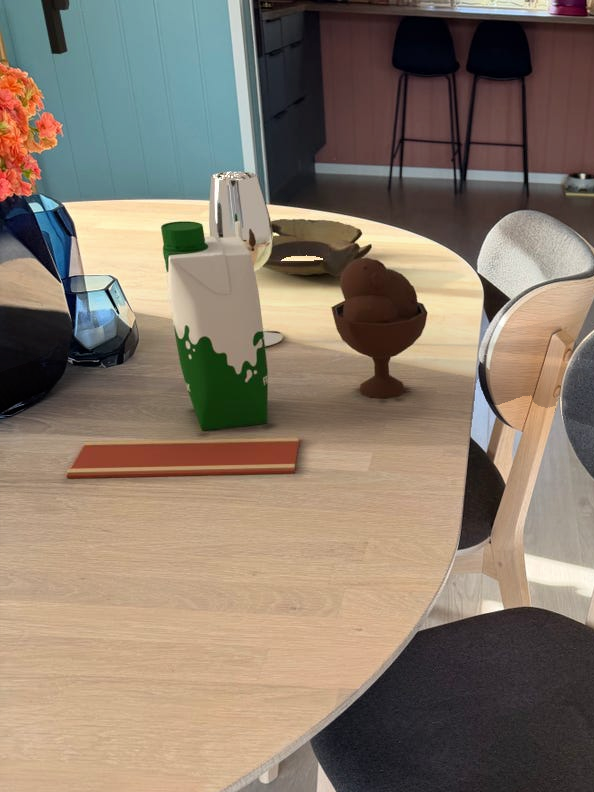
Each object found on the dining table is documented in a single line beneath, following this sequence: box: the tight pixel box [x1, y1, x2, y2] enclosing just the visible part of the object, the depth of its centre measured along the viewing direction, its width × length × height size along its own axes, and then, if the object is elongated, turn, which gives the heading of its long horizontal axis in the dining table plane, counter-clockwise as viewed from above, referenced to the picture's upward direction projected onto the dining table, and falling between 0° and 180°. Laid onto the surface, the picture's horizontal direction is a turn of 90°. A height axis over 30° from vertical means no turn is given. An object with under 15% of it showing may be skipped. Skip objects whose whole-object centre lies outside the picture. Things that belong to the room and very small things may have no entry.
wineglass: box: [208, 171, 284, 348], centre depth 119 cm, size 8×8×20 cm
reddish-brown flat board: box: [66, 437, 300, 479], centre depth 95 cm, size 22×8×1 cm, turn 95°
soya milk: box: [160, 220, 269, 431], centre depth 98 cm, size 9×9×20 cm
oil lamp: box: [262, 218, 373, 277], centre depth 150 cm, size 22×30×8 cm
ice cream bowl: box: [330, 257, 428, 399], centre depth 107 cm, size 11×11×15 cm
